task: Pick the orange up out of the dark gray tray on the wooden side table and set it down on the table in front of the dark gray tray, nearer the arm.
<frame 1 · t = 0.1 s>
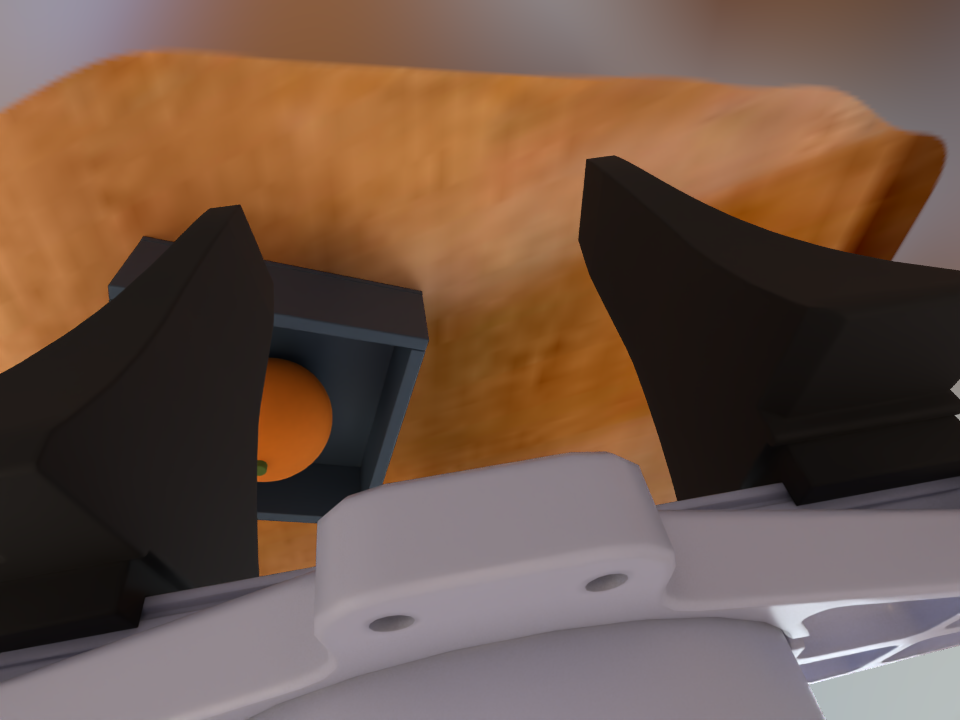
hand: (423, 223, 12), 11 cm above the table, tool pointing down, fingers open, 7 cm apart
orange: (276, 379, 26), resting on dark gray tray
dark gray tray: (277, 375, 27), on the table
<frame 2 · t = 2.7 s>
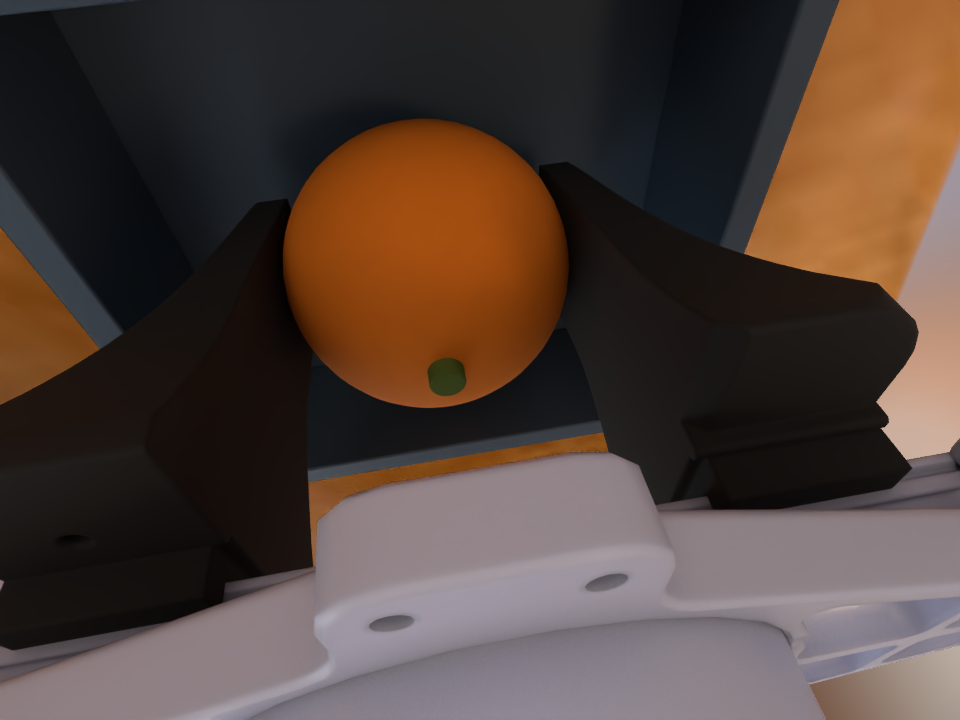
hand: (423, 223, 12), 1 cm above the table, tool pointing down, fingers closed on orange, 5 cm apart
orange: (417, 196, 13), resting on dark gray tray, touching gripper
dark gray tray: (417, 189, 13), on the table
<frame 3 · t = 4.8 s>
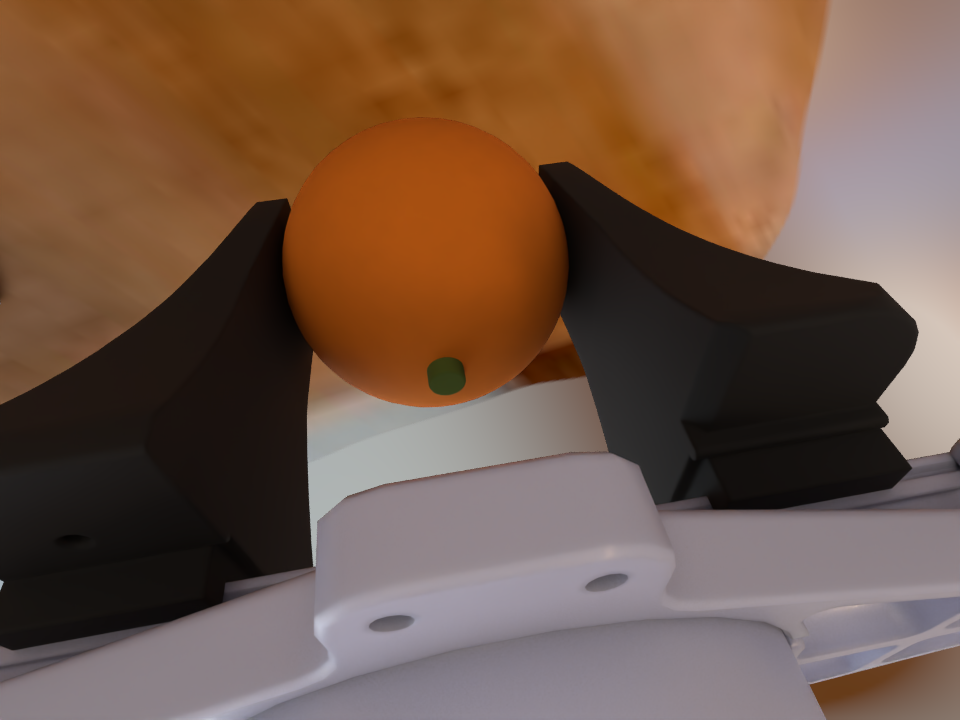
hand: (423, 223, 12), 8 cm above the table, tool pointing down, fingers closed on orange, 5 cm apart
orange: (417, 195, 13), point 7 cm above the table, touching gripper
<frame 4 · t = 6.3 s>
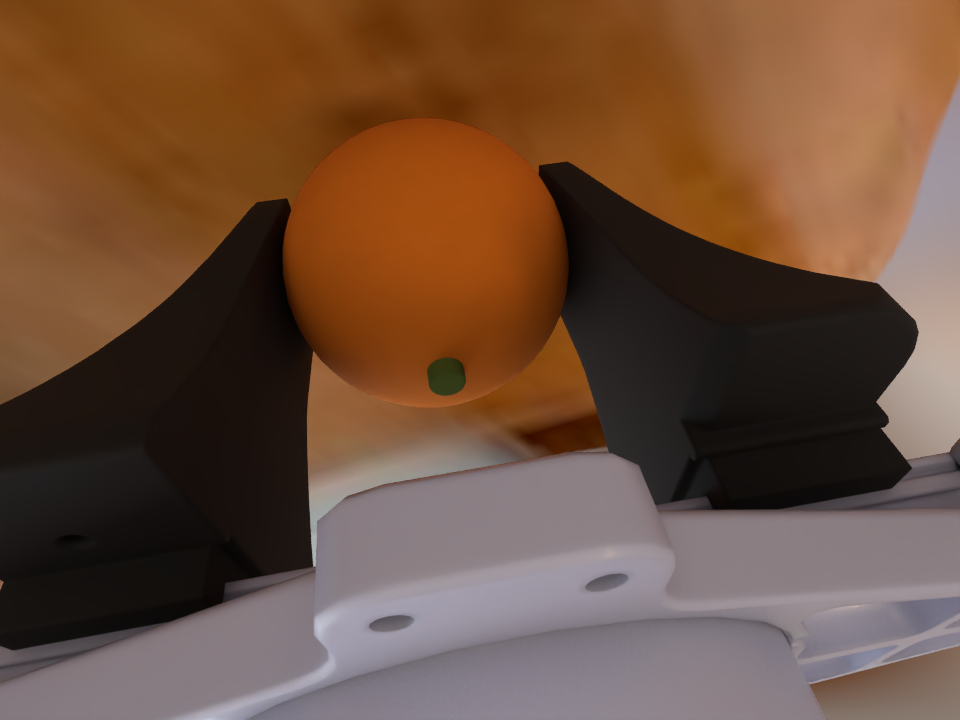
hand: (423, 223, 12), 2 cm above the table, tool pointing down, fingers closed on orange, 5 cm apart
orange: (417, 195, 13), point 1 cm above the table, touching gripper
when the fingers open (1 cm above the table, at t = 7.3 s): orange stays where it is, on the table.
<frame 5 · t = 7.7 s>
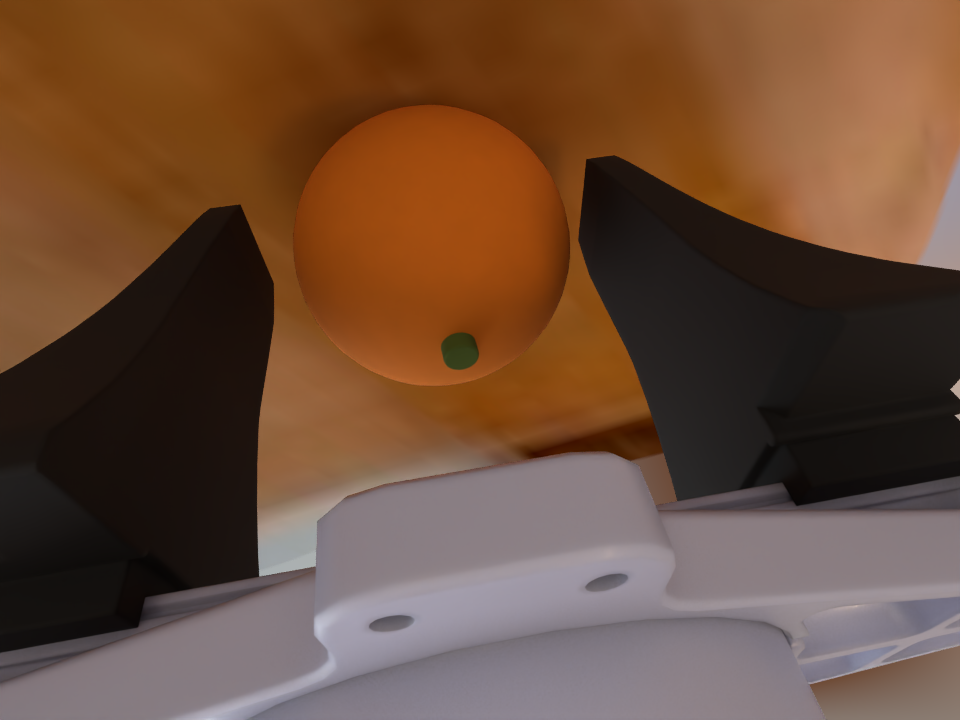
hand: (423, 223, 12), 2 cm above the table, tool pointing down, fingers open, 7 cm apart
orange: (416, 184, 13), on the table
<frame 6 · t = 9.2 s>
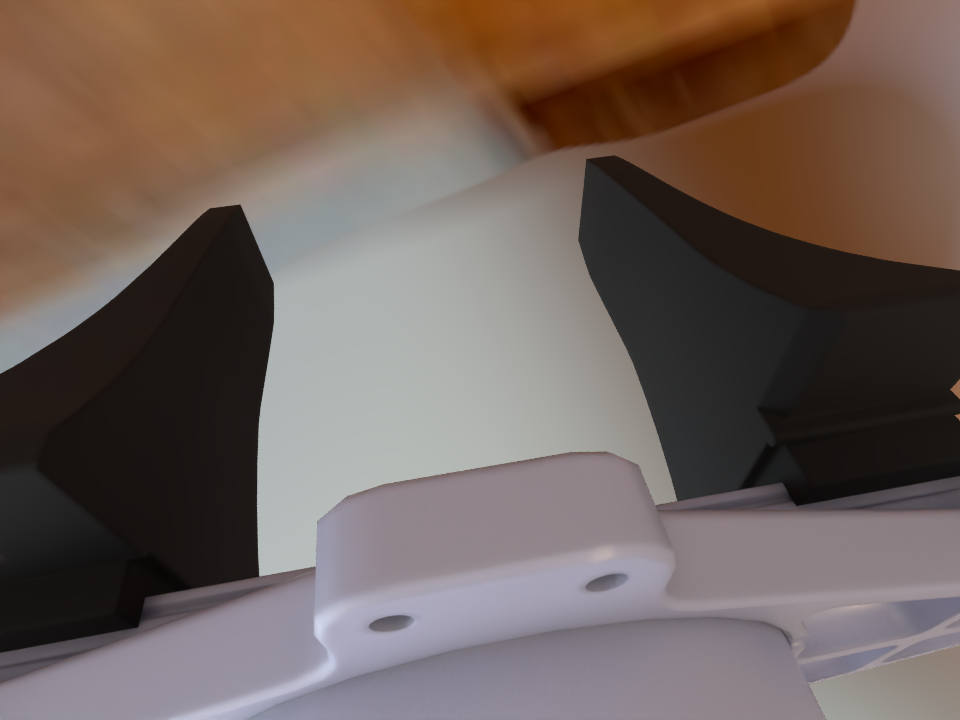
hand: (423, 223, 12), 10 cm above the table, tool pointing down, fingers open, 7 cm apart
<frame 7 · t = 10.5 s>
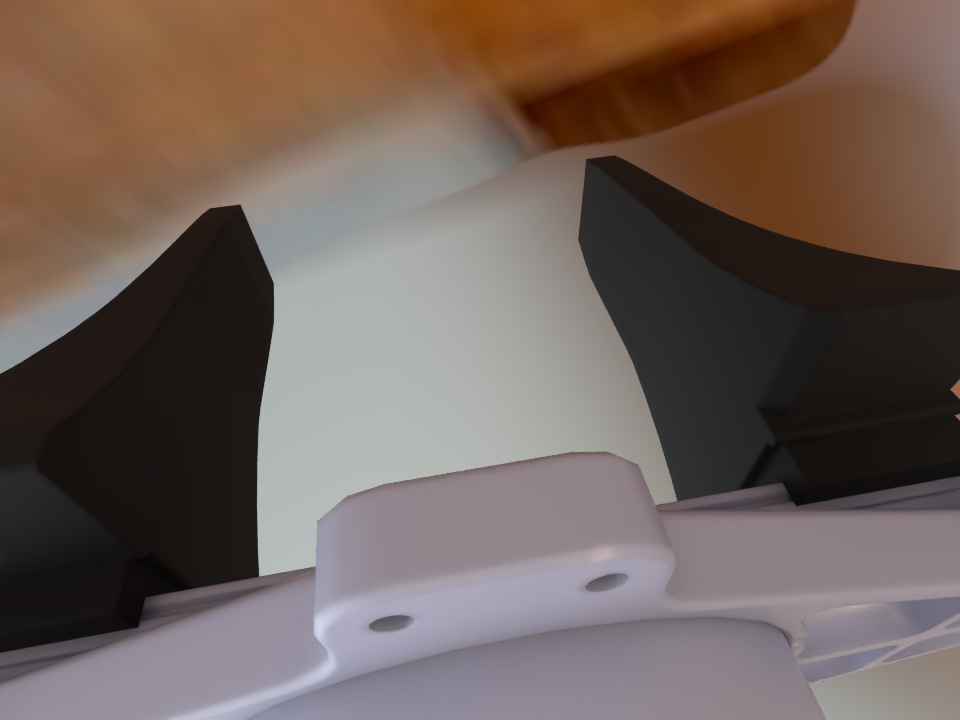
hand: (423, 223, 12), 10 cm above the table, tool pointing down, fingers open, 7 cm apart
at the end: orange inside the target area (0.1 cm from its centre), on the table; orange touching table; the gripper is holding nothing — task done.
